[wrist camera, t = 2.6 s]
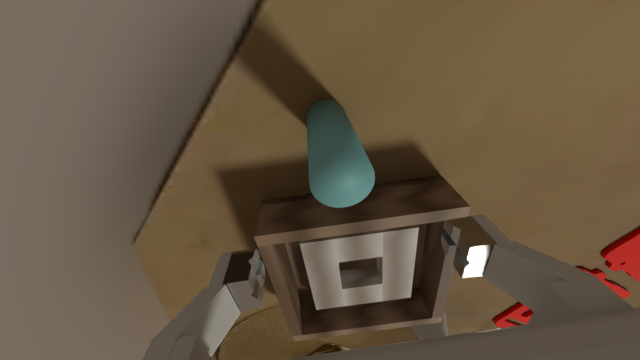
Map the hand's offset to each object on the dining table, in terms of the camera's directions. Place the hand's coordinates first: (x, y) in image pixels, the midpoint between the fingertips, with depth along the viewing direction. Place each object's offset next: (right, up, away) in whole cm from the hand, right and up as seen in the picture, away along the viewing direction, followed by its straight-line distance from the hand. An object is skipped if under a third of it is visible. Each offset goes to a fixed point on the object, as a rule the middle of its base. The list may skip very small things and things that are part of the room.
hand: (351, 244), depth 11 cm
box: (+4, -7, +25) cm, 26 cm away
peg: (-1, +9, +14) cm, 17 cm away
